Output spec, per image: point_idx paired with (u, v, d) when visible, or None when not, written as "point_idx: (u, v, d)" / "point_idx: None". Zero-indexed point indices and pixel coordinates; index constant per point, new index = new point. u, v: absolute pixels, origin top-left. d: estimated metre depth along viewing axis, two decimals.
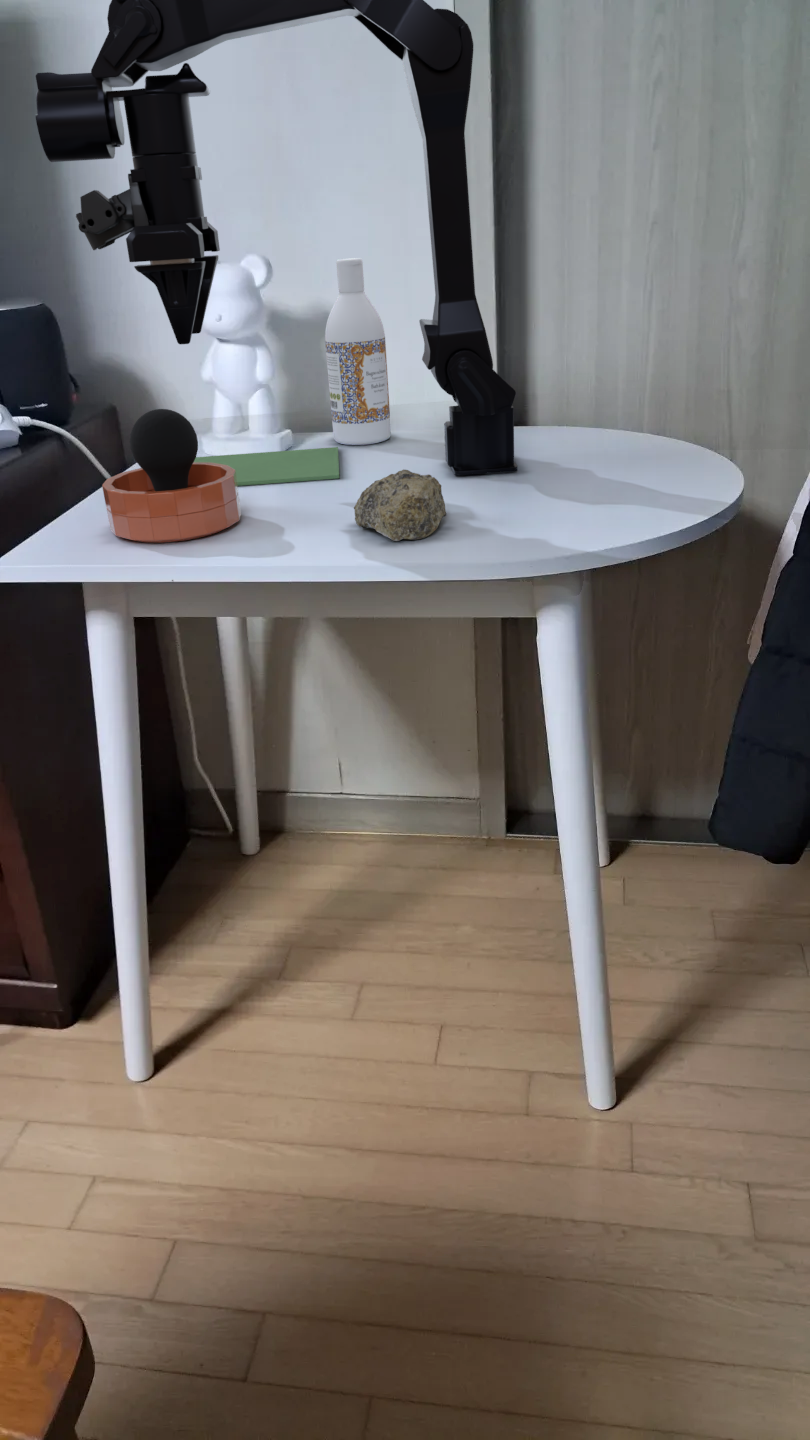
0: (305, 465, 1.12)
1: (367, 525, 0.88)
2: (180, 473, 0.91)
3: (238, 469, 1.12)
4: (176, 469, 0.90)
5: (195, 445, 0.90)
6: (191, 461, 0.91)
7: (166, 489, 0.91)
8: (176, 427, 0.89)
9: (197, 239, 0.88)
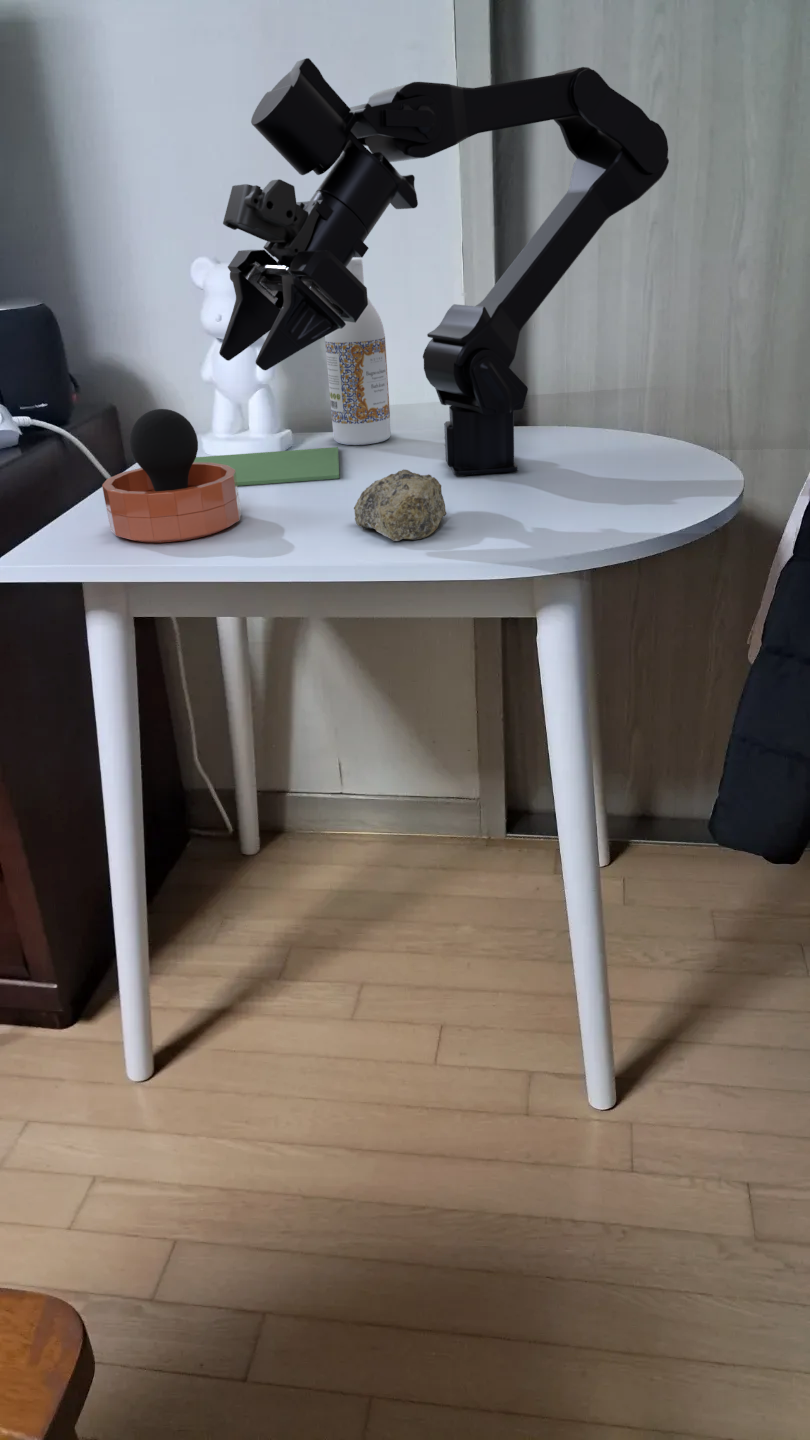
0: (305, 465, 1.12)
1: (367, 525, 0.88)
2: (180, 473, 0.91)
3: (238, 469, 1.12)
4: (176, 469, 0.90)
5: (195, 445, 0.90)
6: (191, 461, 0.91)
7: (166, 489, 0.91)
8: (176, 427, 0.89)
9: (365, 307, 0.86)
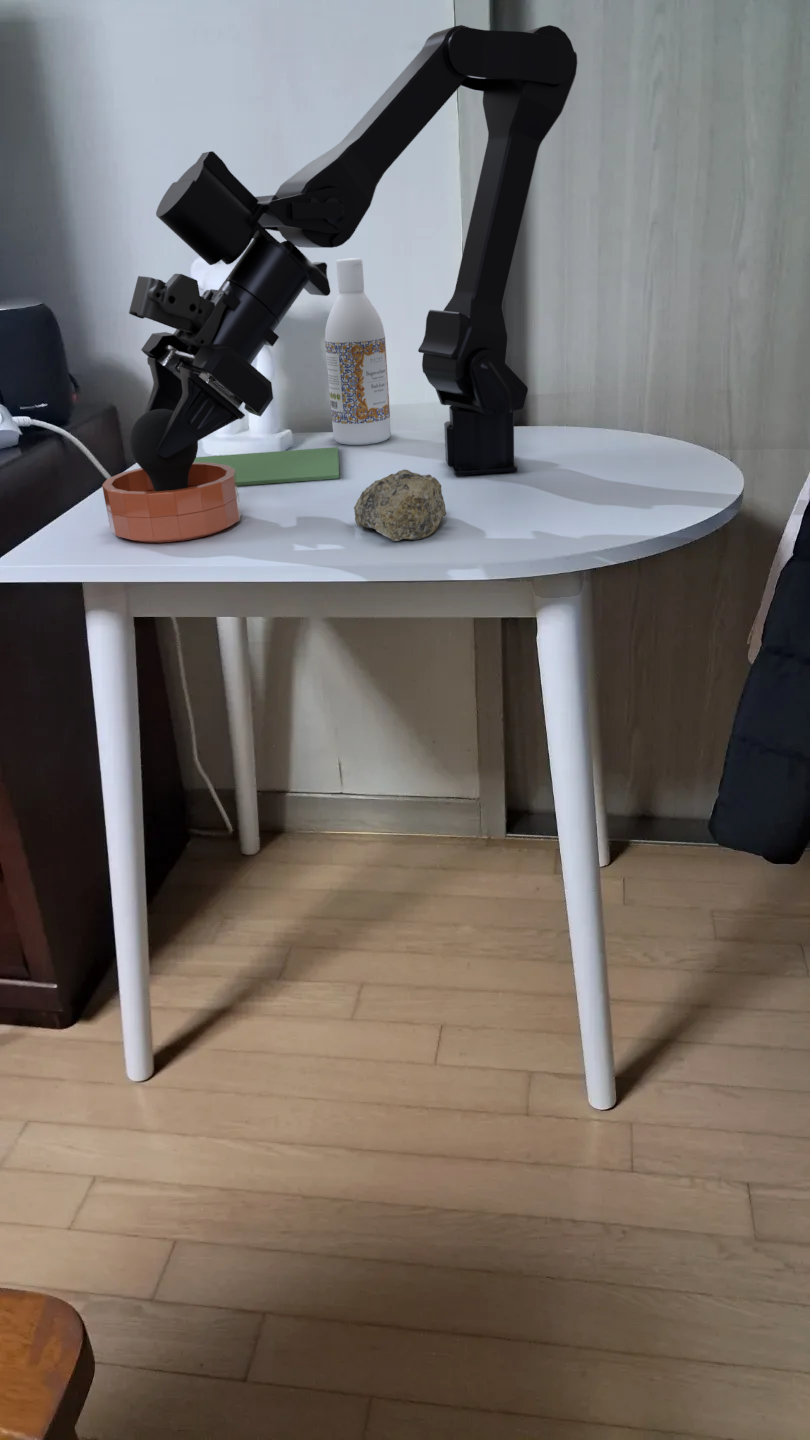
0: (305, 465, 1.12)
1: (367, 525, 0.88)
2: (180, 473, 0.91)
3: (238, 469, 1.12)
4: (176, 469, 0.90)
5: (195, 445, 0.90)
6: (191, 461, 0.91)
7: (166, 489, 0.91)
8: None
9: (270, 401, 0.85)
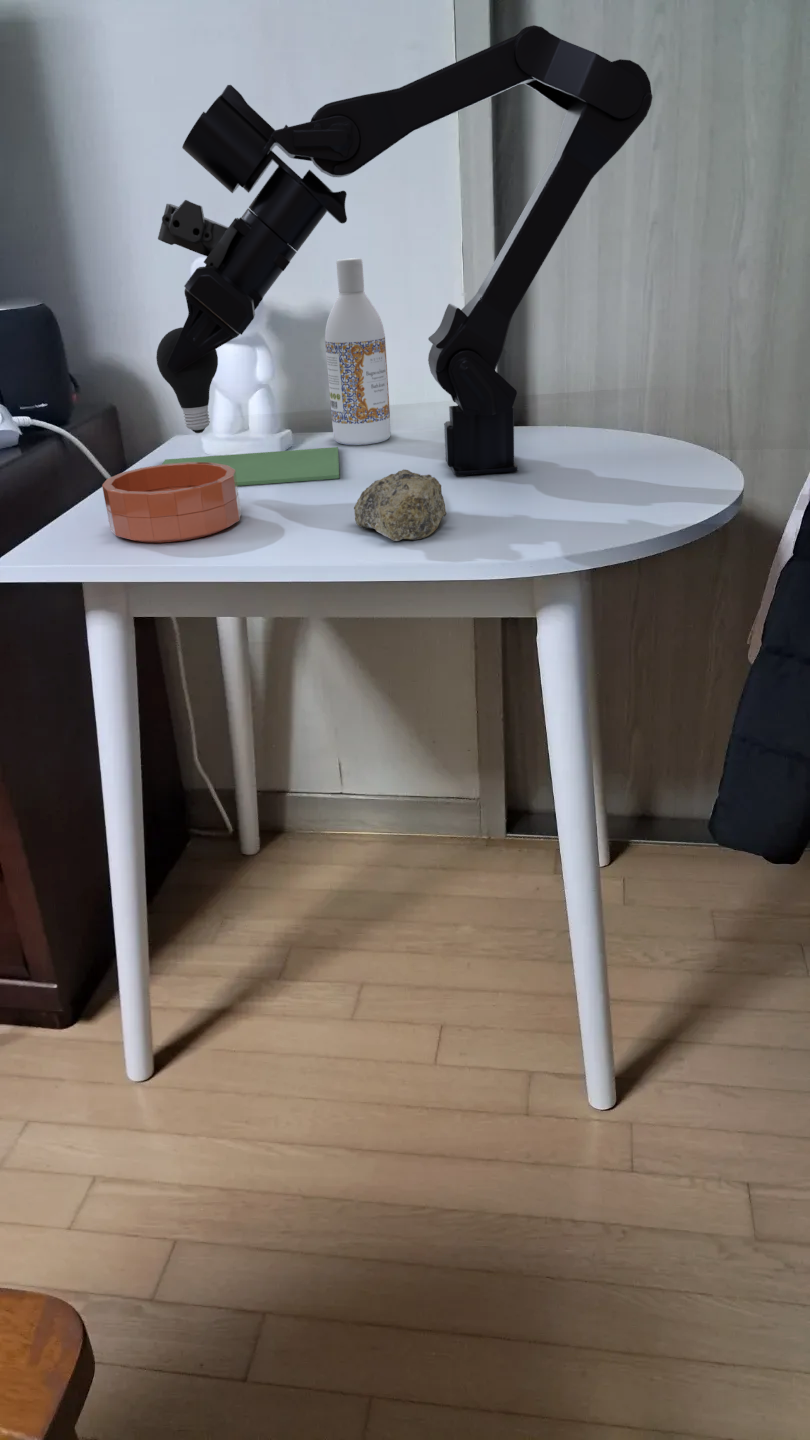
0: (305, 465, 1.12)
1: (367, 525, 0.88)
2: (195, 387, 1.00)
3: (238, 469, 1.12)
4: (190, 383, 0.99)
5: (209, 362, 0.99)
6: (205, 376, 0.99)
7: (184, 401, 1.01)
8: None
9: (250, 321, 0.91)
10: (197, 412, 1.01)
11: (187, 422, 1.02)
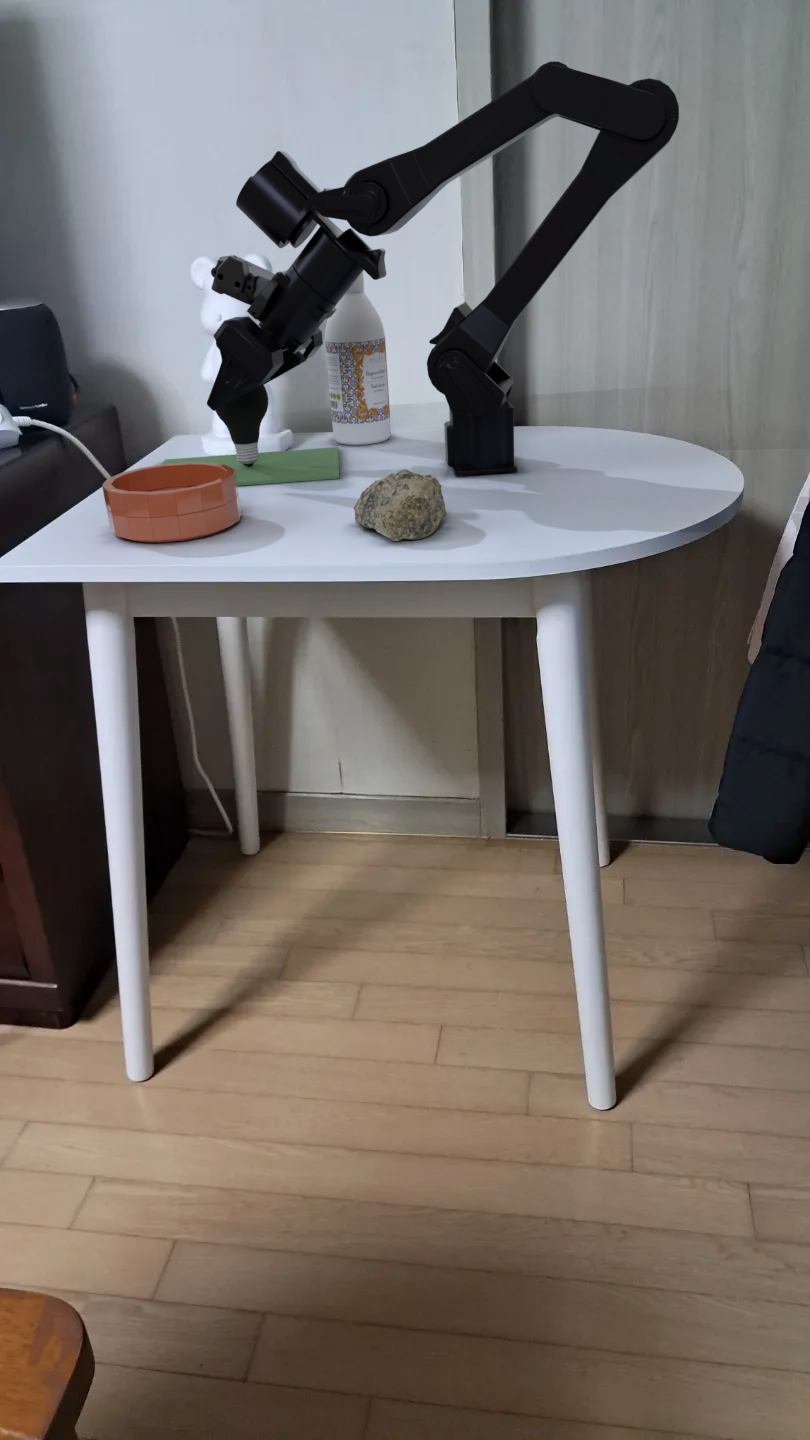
0: (305, 465, 1.12)
1: (367, 525, 0.88)
2: (242, 426, 1.09)
3: (238, 469, 1.12)
4: (237, 423, 1.09)
5: (254, 405, 1.08)
6: (251, 418, 1.08)
7: (233, 438, 1.10)
8: None
9: (269, 369, 0.99)
10: (245, 448, 1.11)
11: (237, 456, 1.12)
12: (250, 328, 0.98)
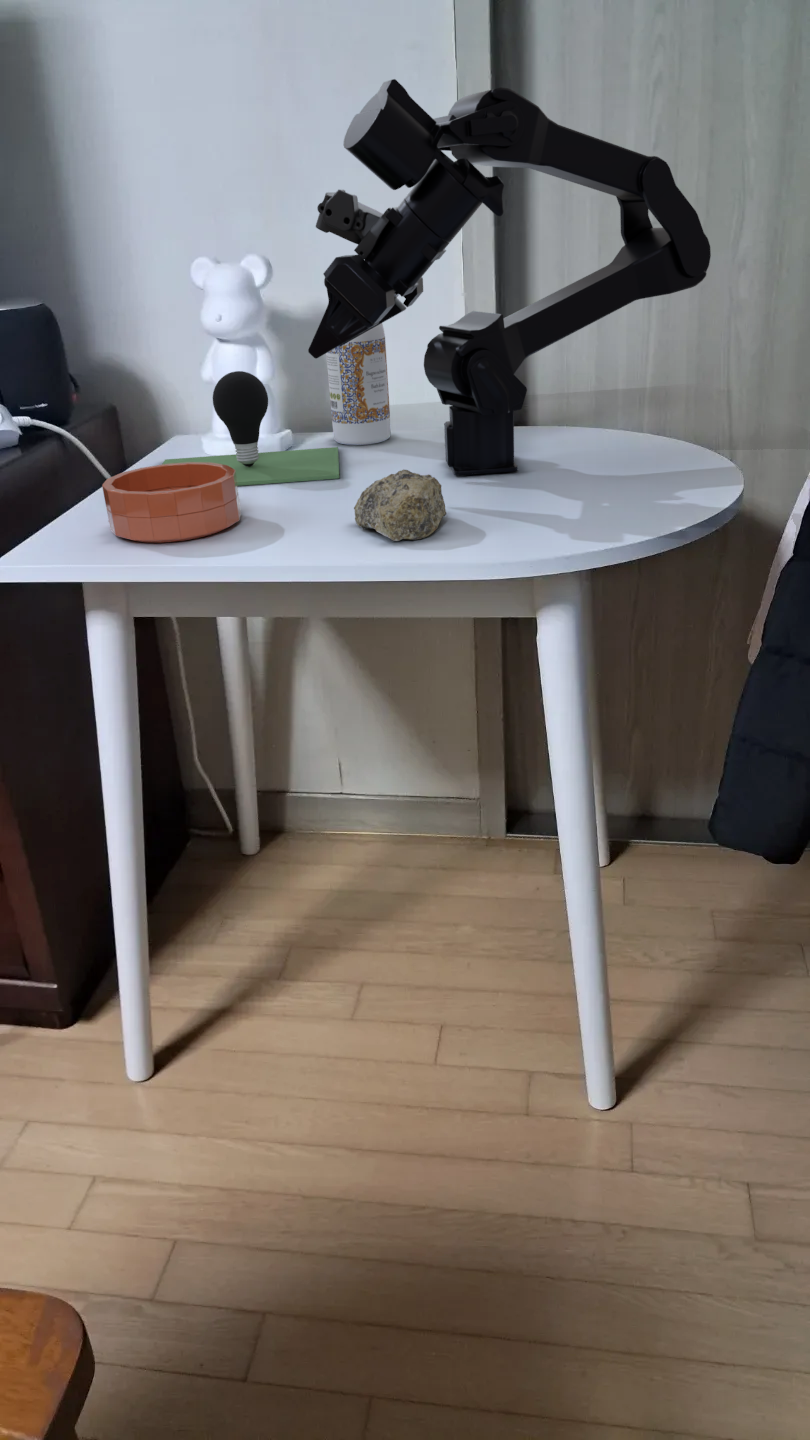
0: (305, 465, 1.12)
1: (367, 525, 0.88)
2: (242, 426, 1.09)
3: (238, 469, 1.12)
4: (236, 423, 1.09)
5: (254, 405, 1.08)
6: (251, 417, 1.08)
7: (233, 438, 1.10)
8: (236, 387, 1.07)
9: (383, 310, 0.92)
10: (245, 448, 1.11)
11: (237, 456, 1.12)
12: (362, 266, 0.92)
